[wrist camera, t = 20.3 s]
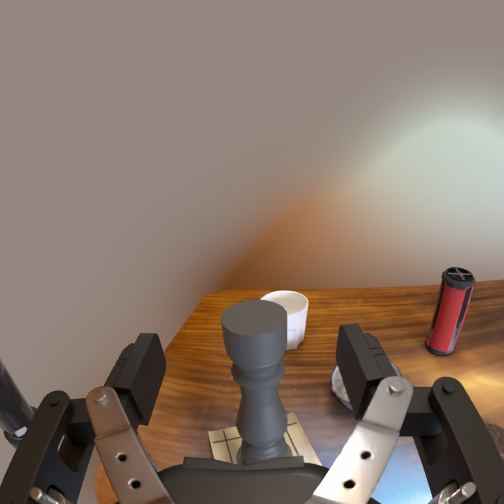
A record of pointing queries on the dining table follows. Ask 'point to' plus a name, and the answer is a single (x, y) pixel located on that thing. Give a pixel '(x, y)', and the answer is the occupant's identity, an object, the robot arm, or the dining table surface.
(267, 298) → the cup
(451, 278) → the speaker
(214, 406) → the dining table surface
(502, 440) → the rock
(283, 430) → the candle holder
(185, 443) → the dining table surface
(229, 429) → the board
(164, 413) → the dining table surface
